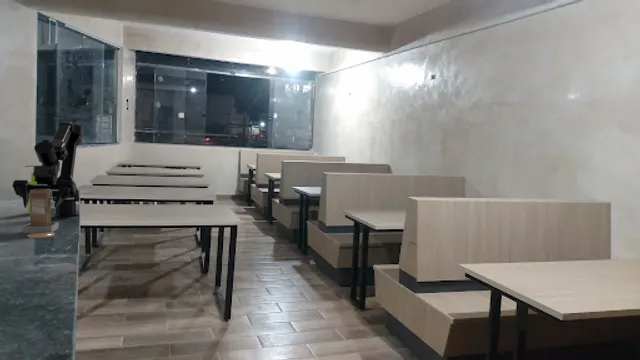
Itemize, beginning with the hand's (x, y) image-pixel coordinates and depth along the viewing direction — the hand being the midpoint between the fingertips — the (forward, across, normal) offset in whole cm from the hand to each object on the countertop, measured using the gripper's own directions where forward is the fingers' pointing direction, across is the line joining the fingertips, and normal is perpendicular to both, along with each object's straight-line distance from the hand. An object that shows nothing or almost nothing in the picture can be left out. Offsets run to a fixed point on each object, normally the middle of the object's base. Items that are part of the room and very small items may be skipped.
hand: (40, 206), depth 161 cm
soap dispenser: (-22, -13, +34) cm, 43 cm away
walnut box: (+5, 0, +6) cm, 8 cm away
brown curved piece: (+12, +2, 0) cm, 12 cm away
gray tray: (+6, 0, +6) cm, 9 cm away
